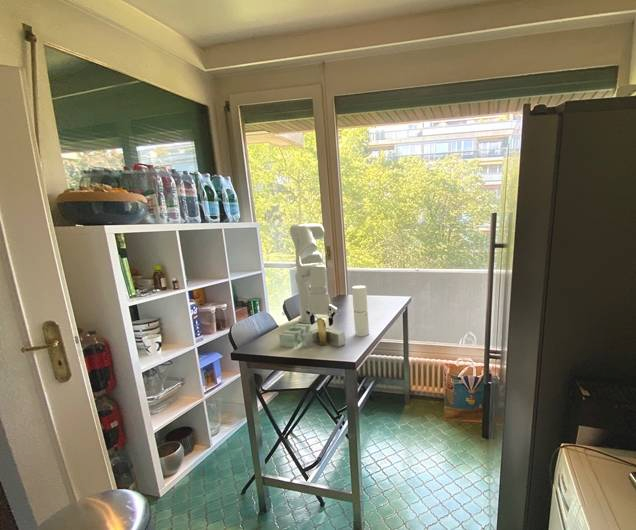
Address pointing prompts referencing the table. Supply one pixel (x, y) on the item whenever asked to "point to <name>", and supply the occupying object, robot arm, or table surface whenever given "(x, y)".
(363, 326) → the cylindrical container
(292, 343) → the pale green slotted holder
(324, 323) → the axle
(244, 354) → the table surface
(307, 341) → the v block
